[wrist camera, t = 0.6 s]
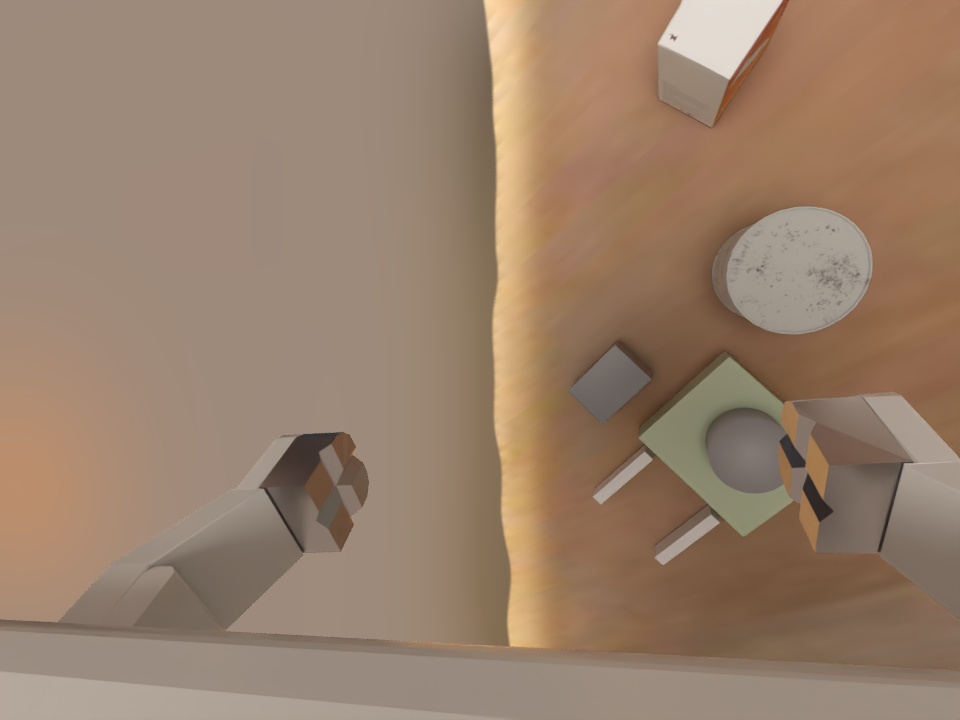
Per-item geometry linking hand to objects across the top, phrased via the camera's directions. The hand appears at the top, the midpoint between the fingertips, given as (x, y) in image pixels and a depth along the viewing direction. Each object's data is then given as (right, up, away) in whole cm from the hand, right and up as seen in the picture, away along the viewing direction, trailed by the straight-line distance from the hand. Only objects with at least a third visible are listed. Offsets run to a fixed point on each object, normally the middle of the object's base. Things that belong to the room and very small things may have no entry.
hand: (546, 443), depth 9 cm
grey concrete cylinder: (+27, +10, +39) cm, 49 cm away
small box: (+21, +29, +38) cm, 52 cm away
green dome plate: (+22, -10, +44) cm, 51 cm away
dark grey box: (+14, 0, +46) cm, 48 cm away
